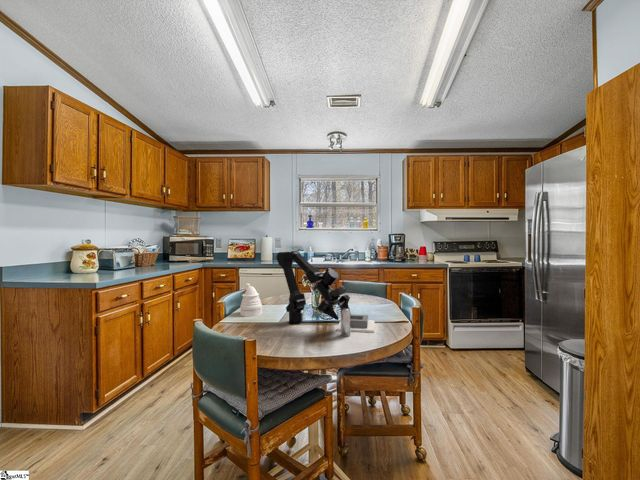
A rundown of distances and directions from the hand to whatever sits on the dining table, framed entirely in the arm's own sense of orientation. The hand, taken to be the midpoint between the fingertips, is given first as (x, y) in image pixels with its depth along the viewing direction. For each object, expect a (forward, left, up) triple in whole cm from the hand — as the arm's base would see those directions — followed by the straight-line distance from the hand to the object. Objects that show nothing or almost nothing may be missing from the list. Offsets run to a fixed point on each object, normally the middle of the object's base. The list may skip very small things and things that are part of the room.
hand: (344, 317), depth 153 cm
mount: (+4, +15, -8) cm, 18 cm away
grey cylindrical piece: (0, 0, -8) cm, 8 cm away
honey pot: (-60, +32, -9) cm, 68 cm away
